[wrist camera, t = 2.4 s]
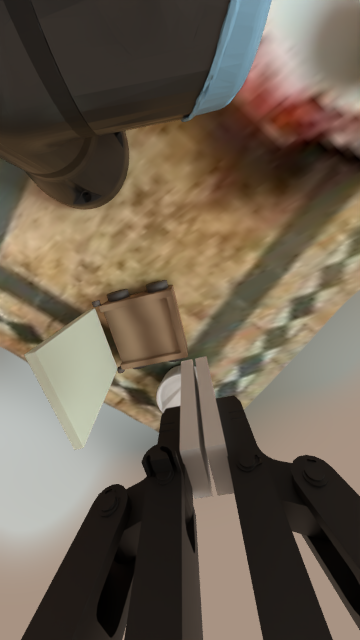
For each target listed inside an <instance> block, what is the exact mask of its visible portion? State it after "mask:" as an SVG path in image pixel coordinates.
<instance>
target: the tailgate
mask: <svg viewBox="0 0 360 640" xmlns="http://www.w3.org/2000/svg"><path fill="white" fill-rule="evenodd" d="M24 355H25V357H26V359H27V361H28V363H29V365H30V367H31V369H32V370H33V372H34V374H35V376H36V378H37V380H38V382H39V384H40V386H41V387H42V389H43V391H44V393H45V395H46V397H47V399H48V401H49V403H50V404H51V406H52V408H53V410H54V412H55V414H56V416H57V418H58V420H59V421H60V423H61V425H62V427H63V429H64V431H65V433H66V435H67V437H68V438H69V440H70V442H71V444H72V446H73V448H74V450H76V449H81V448H84V446H85V444H86V441H87V439H88V436H89V434H90V432H91V430H92V427H93V425H94V423H95V420H96V418H97V416H98V413H99V411H100V408H101V406H102V404H103V402H104V399H105V397H106V395H107V392H108V390H109V388H110V385H111V383H112V381H113V378H114V376H115V374H116V371H117V369H118V368H117V366H116V363H115V360H114V358H113V355H112V353H111V350H110V347H109V345H108V342H107V339H106V337H105V334H104V331H103V329H102V326H101V323H100V321H99V318H98V315H97V313H96V310H95V308H94V309H90V310H88V311H86V312H85V313H83V314H82V315H81V316H79V317H78V318H76V319H75V320H73V321H72V322H70V323H69V324H68V325H66V326H65V327H63V328H62V329H60V330H59V331H58V332H56V333H55V334H53V335H52V336H50V337H49V338H47V339H46V340H45V341H43V342H42V343H40V344H39V345H37V346H36V347H35V348H33V349H32V350H30V351H29V352H27V353H26V354H24Z"/></svg>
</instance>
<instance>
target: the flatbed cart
mask: <svg viewBox="0 0 360 640" xmlns="http://www.w3.org/2000/svg"><path fill="white" fill-rule="evenodd" d="M146 288H147V291H144V292H140V293H136V294H132V295H129V293H128V289H124V290H119V291H116V292H112V293H110V294H107V297H108V301H107V302H105V303H104V304H102V305H101V304H100V301H99V300H97V301H94V302H92V305H93V307H97V306H99V309H100V311H101V312H104V314H105V317H106V320H107V322H108V325H109V328H110V331H111V333H112V336H113V339H114V342H115V344H116V347H117V350H118V353H119V355H120V358H121V361H122V363H121V366H120V367H118V369H117V371H118V373H123V372H124V371H125V369H130V368H133V369H140V368H143V367H145V366H147V365H150V364H155V363H160V362H165V361H169V362H176V361H179V360H181V359H183V358H185V357H188V349H187V341H186V337H185V333H184V329H183V325H182V321H181V317H180V312H179V308H178V304H177V300H176V296H175V292H174V288H173V285H170V286H168V284H167V280H162V281H158V282H154V283H150V284H148V285H146Z"/></svg>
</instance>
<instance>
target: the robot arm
mask: <svg viewBox="0 0 360 640" xmlns="http://www.w3.org/2000/svg"><path fill="white" fill-rule="evenodd" d="M271 1H272V0H0V158H1V159H3V160H5V161H7V162H9V163H11V164H13V165H15V166H17V167H19V168H21V169H23V170H24V171H25V172H26V173H27V174H28V175H29V177H30V178H31V179H32V180H33V181H34V182H35V183H36V184H37V186H38V187H39V188H40V189H41V190H43V191H44V192H45V193H46V194H47V195H49V196H50V197H52V198H53V199H55V200H57V201H59V202H61V203H63V204H66V205H68V206H71V207H74V208H79V209H92V208H97V207H100V206H102V205H104V204H106V203H107V202H109V201H110V200H111V199H113V198H114V197H115V195H116V194H117V193H118V192H119V190H120V189H121V187H122V185H123V183H124V181H125V178H126V175H127V171H128V165H129V148H128V141H127V137H126V134H125V131H126V130H131V129H136V128H141V127H146V126H151V125H156V124H161V123H166V122H171V121H176V120H181V121H182V122H185V121H189V120H191V119H192V118H193V117H194V116H196V115H200V114H204V113H208V112H212V111H215V110H219V109H221V108H223V107H225V106H226V105H228V104H229V103H230V102H231V100H232V99H233V98H234V97H235V95H236V94H237V93H238V92H239V90H240V89H241V87H242V85H243V84H244V82H245V80H246V78H247V75H248V73H249V71H250V68H251V66H252V64H253V61H254V58H255V55H256V53H257V50H258V47H259V44H260V40H261V37H262V34H263V31H264V27H265V24H266V20H267V16H268V12H269V9H270V5H271ZM195 360H196V369H197V377H196V373H195V369H194V365H193V361H192V359H191V360H186V361H181V402H180V406H176V407H171V408H166V409H165V411H164V413H163V414H162V416H161V423H160V430H159V438H158V444H157V445H155V446H153V447H152V448H150V449H149V450H148V451H147V452H146V454H145V455H144V457H143V460H142V465H143V467H144V470H145V472H146V475H147V477H146V478H145V479H144V480H142V481H141V482H139V483H137V484H135V485H133V486H132V487H129V488H128V489H125V488H124V486H122V485H119V484H115V485H111V486H109V487H107V488H105V489H104V490H103V491H102V492H101V493H100V494H99V495H98V497H97V498H96V500H95V501H94V503H93V504H92V506H91V508H90V510H89V512H88V514H87V516H86V518H85V520H84V522H83V523H82V525H81V527H80V529H79V531H78V533H77V535H76V537H75V539H74V541H73V542H72V544H71V546H70V548H69V550H68V552H67V554H66V556H65V558H64V560H63V562H62V563H61V565H60V567H59V569H58V571H57V573H56V575H55V576H54V579H53V580H52V582H51V584H50V586H49V588H48V590H47V592H46V594H45V595H44V597H43V599H42V601H41V603H40V605H39V607H38V609H37V611H36V613H35V614H34V616H33V618H32V620H31V622H30V624H29V626H28V628H27V629H26V632H25V633H24V635H23V637H22V639H21V640H122V638H123V635H124V631H125V627H126V632H125V639H124V640H203V631H202V615H201V597H200V580H199V562H198V547H197V530H196V515H195V510H194V507H193V495H194V498H195V499H196V498H203V497H210V496H212V487H211V479H210V471H209V463H210V467H211V471H212V475H213V479H214V482H215V487H216V490H217V494H218V495H224V494H232V493H234V494H235V499H236V504H237V509H238V514H239V519H240V524H241V529H242V534H243V540H244V545H245V550H246V555H247V560H248V565H249V570H250V575H251V580H252V584H253V590H254V595H255V600H256V605H257V610H258V616H259V621H260V625H261V630H262V636H263V640H333V639H332V637H331V634H330V631H329V629H328V626H327V623H326V621H325V618H324V615H323V613H322V610H321V608H320V605H319V602H318V600H317V597H316V594H315V591H314V589H313V586H312V584H311V581H310V578H309V575H308V573H307V570H306V568H305V565H304V562H303V560H302V557H301V554H300V551H299V549H298V546H297V544H296V541H295V538H294V536H293V533H292V531H293V532H297V533H300V534H302V536H303V538H304V539H305V541H306V543H307V544H308V546H309V548H310V549H311V551H312V553H313V554H314V556H315V557H316V559H317V561H318V562H319V564H320V566H321V567H322V569H323V570H324V572H325V574H326V576H327V577H328V579H329V580H330V582H331V583H332V585H333V587H334V589H335V590H336V592H337V594H338V595H339V597H340V599H341V600H342V602H343V603H344V605H345V607H346V608H347V610H348V612H349V613H350V615H351V617H352V618H353V620H354V621H355V623H356V625H357V626H358V628H359V630H360V496H359V495H358V494H357V493H356V492H355V491H354V490H353V489H352V488H351V487H350V486H349V485H348V484H347V483H346V481H345V480H344V479H342V477H340V475H339V474H338V473H337V472H336V471H335V470H334V469H333V468H332V467H331V466H330V465H329V464H327V463H326V462H325V461H324V460H321V459H319V458H317V457H315V456H309V455H304V456H299V457H297V458H296V459H295V460H294V461H293V463H288V462H282V461H277V460H273V459H272V458H269V457H268V456H266V455H265V454H264V453H262V452H261V450H260V449H259V448H258V446H257V444H256V441H255V439H254V436H253V433H252V431H251V428H250V425H249V423H248V420H247V418H246V415H245V412H244V410H243V407H242V404H241V402H240V401H239V400H238V399H237V398H236V397H235V396H228V397H223V398H217V399H216V398H215V394H214V389H213V384H212V380H211V375H210V371H209V366H208V362H207V357H201V358H196V359H195ZM197 378H198V381H197ZM208 460H209V463H208Z"/></svg>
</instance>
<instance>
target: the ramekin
mask: <svg viewBox="0 0 360 640" xmlns="http://www.w3.org/2000/svg"><path fill="white" fill-rule="evenodd" d="M194 369H195V373H196V377H197V369H196V367H195V366H194ZM197 381H198V378H197ZM214 394H215V392H214ZM156 401H157V405H158V407H159V409H160V410H161V412H162V413H164V411H165V409H166V408H171V407H176V406H180V402H181V365H180V366H176V367H174V368H172V369H170V370H169V371H168V372H167V373H166V375H165V376H164V378H163V380H162V382H161V383H160V385H159V386H158V389H157V393H156Z"/></svg>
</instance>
